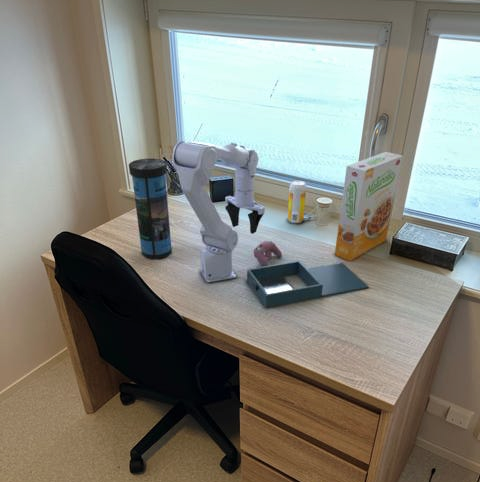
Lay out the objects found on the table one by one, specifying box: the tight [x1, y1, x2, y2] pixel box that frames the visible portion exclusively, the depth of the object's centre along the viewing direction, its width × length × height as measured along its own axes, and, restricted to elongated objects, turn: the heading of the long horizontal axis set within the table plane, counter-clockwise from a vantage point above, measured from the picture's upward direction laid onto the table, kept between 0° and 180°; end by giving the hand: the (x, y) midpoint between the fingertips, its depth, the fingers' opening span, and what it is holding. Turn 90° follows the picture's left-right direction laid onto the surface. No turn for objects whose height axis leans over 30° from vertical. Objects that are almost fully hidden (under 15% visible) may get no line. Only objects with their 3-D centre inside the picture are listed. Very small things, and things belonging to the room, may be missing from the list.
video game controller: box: [253, 240, 283, 267], centre depth 151 cm, size 10×5×7 cm, turn 144°
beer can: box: [287, 180, 307, 224], centre depth 175 cm, size 6×6×15 cm
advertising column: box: [128, 158, 173, 260], centre depth 148 cm, size 11×11×30 cm
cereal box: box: [334, 151, 404, 262], centre depth 153 cm, size 22×6×30 cm, turn 135°
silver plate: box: [258, 276, 293, 294], centre depth 137 cm, size 9×12×1 cm
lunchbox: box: [246, 260, 369, 309], centre depth 139 cm, size 34×15×4 cm, turn 110°
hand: (244, 229), depth 149 cm, fingers open, 7 cm apart
